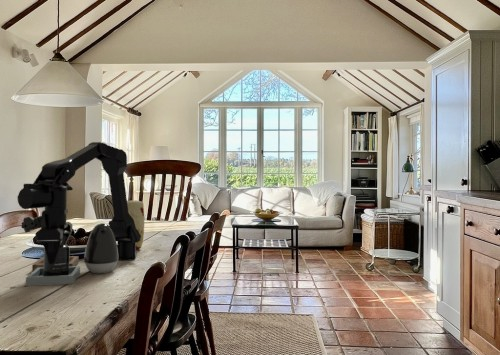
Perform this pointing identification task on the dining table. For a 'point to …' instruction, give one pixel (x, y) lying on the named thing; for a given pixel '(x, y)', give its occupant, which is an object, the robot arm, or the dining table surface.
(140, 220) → the food model
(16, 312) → the dining table surface
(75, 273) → the slate tray
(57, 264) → the supplement bottle
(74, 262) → the walnut collar
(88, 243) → the grey egg shaped device
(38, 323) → the dining table surface
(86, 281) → the dining table surface
